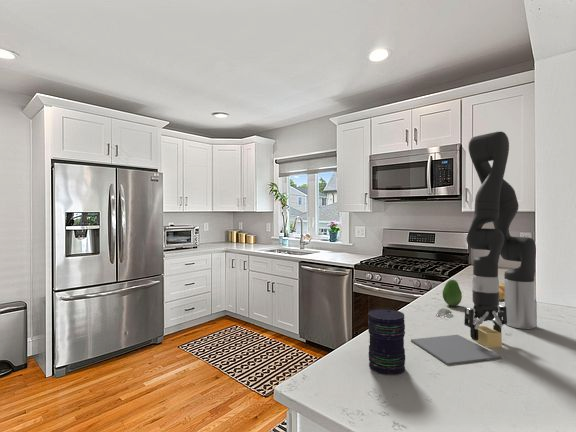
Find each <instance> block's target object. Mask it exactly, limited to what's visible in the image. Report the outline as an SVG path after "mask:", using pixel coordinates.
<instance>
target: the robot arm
mask: <svg viewBox="0 0 576 432" xmlns="http://www.w3.org/2000/svg"><path fill="white" fill-rule="evenodd" d="M509 151H510V139H509V137H508V135H507V134H506V132H504V131H495V132H489V133H485V134H480V135H477V136H473V137H471V138H470V139H469V141H468V152H469V156H470V159H471V161H472V164H473V167H474V170H475V171H476V172H475V173H476V174H477V177H478V179H479V181H480V186H479V187H478V190H477V192H476V194H475V198H474V211H473V217H472V221H471V224H470V226H469V229H468V231H467V235H466V243H467V245H468V247H469V248H470V249H472V250H479V251H481V250H482V251H483V250H484V251H489V253H488V254H487V255H484V256H478V257H477V256H476V257H474V258H473V261H472V273H473V274H472V281H471V284H472V289H471V291H472V292H471V293H472V302H473V307H472V308H471V307H465V308H464V321H463V324H464V326H466V327H468V328H470V334H469V335H470V339H471V340H473V341H474V340H475V342H476V341H477V340H478V327H479V326H481V325H482V324H483V323H484V322H488V321H491V322H492V324H493V327H492V329H493V330H496V331H498V332H500V333H502V327H503V326H504V325H505V326H506V325H507V326H509V327H512V328H515V329H523V330H533V329H535V328H536V327H538V326H537V325H538V321H537V319H538V315H537V313H538V312H537V308H538V307H537V305H538V301H537V300H535V275H536V258H537V254H536V253H537V247H536V246H537V245H536V241H535V240H534V239H533V238H531V237H525V236H524V237H523V236H511V234H510V226H511V223H512V222H513V220H514V218H515V217H516V215H517V213H518V211H519V202H518V197H517V194H516V190H515V189H514V187H513V186H512V185H511V184H510V183H509V182H507V181H506V180H505V179H504V177H505V172H506V167H507V163H508V157H509ZM490 162H492V165H491V164H490ZM489 223H492V224H493V227H494V228H486V227H485V228H484V227H483V226H484V225H485V224H489ZM500 256H501V258H502V259H503V260H505V261H511V262H520V266H518V267H517V268H513V269H507V270H505V271H504V275H503V276H504V284H505V300H504V305H501V304H500V300H499V284H500V281H499V260H500Z"/></svg>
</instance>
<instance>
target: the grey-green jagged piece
mask: <svg viewBox="0 0 576 432" xmlns="http://www.w3.org/2000/svg"><path fill="white" fill-rule="evenodd" d="M449 313H451V314H449ZM435 314H436V313H435ZM437 314H438V316H437ZM437 314H436V316H435V317H436V318H437V317H438V318H441V317H443V318H445V317H447V318H446V319H451V318H454V314H452V310H450V309H448V308H440V309H438V311H437ZM445 315H446V316H445ZM440 316H441V317H440ZM438 318H437V319H438Z"/></svg>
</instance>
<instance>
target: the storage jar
mask: <svg viewBox="0 0 576 432" xmlns="http://www.w3.org/2000/svg"><path fill="white" fill-rule="evenodd" d="M367 316H368V321H367V323H368V328H367V331H368V333H369V334H368V335H369V345H368V362H369V363H368V367H369V368H370V370H371V371H373V372H374V373H377V374H379V375H384V376H399V375H402V374H403V373H404V372H405V371H406V366H405V365H406V350H405V339H404V338H405V334H406V332H405V330H406V323H405V314H404V312H401V311H399V310H396V309H390V308H374V309H371V310H369V311H368V315H367Z"/></svg>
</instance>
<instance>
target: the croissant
mask: <svg viewBox="0 0 576 432" xmlns="http://www.w3.org/2000/svg"><path fill="white" fill-rule="evenodd" d="M502 300H504V301H505V283H499V301H502Z"/></svg>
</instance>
